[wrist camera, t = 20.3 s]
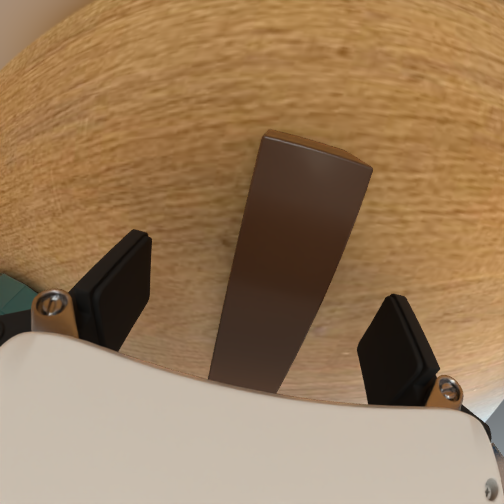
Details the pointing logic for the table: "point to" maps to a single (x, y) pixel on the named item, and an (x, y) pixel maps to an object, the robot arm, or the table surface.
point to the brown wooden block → (285, 256)
